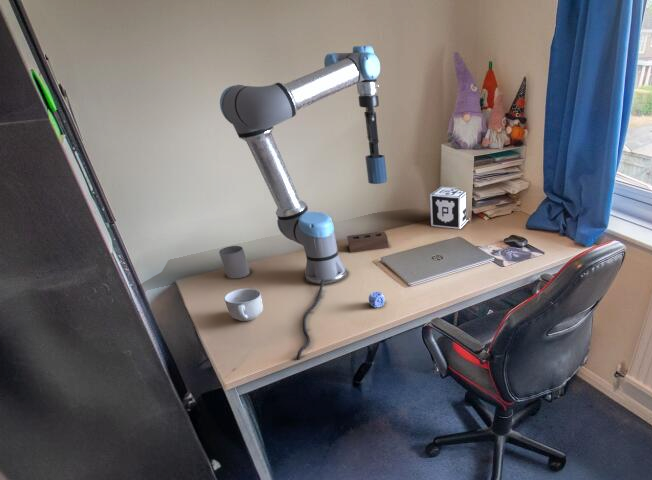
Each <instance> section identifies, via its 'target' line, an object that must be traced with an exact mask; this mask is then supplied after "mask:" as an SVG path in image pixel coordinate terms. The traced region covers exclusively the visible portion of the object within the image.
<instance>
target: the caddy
mask: <svg viewBox="0 0 652 480" xmlns="http://www.w3.org/2000/svg"><path fill="white" fill-rule="evenodd" d="M346 238H347V239H346V240H347V244H348V245H347V246H348V249H349V252H350V253H357V252H365V251H371V250H379V249H386V248H389V241H388V240H389V239H388V235H387V233H386V232H385V230H384V231H376V232H375V231H374V232H367V233H359V234H352V235H351V234H350V235H346Z"/></svg>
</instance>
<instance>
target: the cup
mask: <svg viewBox="0 0 652 480" xmlns="http://www.w3.org/2000/svg"><path fill="white" fill-rule="evenodd" d="M218 254H219V256H220V260H221V262H222V265H223V268H224V272H225V274H226V277H227V278H228V279H242V278H244V277H247V276H248V275H249V274H250V273H251V270H250V267H249V264H248V260H247V258H246V254H245V251H244V249H243V247H242V246H241V245H230V246H226V247H223V248H221V249H220V250H219V251H218Z"/></svg>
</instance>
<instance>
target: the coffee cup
mask: <svg viewBox="0 0 652 480" xmlns="http://www.w3.org/2000/svg"><path fill="white" fill-rule="evenodd" d="M364 161H365V167H366V176H367V182H368V184H372V185H381V184H385V183H387V181H388V178H387V168H386V167H387V166H386V157H385V155H384V154H379V158H371V157H370V154H368V155H366V156H364Z"/></svg>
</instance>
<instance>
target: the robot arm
mask: <svg viewBox="0 0 652 480" xmlns="http://www.w3.org/2000/svg"><path fill="white" fill-rule="evenodd" d="M323 65H324V67H323V68H320V69H318V70H315V71H313V72H310V73H308V74H305V75H303V76H301V77H298V78H296V79H293V80H291V81H288V82H286V83H282V82H275V83H273V84H270V85H264V86H263V85H262V86H255V85H253V86H251V85H243V84H235V85H234V84H233V85H230V86H228V87H226V88H225V89H224V90H223V91H222V93H221V95H220V98H219V108H220V111H221V113H222V116H223V117H224V118H225V120H227V121H228V123H230V124H232V126H233V128H234V131H235V132H236V135H237V136H238V138H239V139H241V140H242V141H244V142H246V144H247V146H248V149H249V150H250V153H251V155H252V157H253V159H254V161H255V163H256V165H257V168H258V169H259V172H260V174H261V175H262V176H261V177H262V178H263V180H264V183H265V184H266V187H267V188H268V190H269V192H270V195H271V197H272V199H273V201H274V203H275V205H276V211H275V215H276V217H277V220H276V221H277V227H278V230H279V232H280V234H282V235H283V236H284V237H285V238H287V239H288V240H290V241H292V242H295V243H297V244H298V245H301V246H303V248H304V249H303V250H304V253H305V258H306V262H305V263H306V264H305V271H304V276H305V280H306V282H308V283H309V284H313V285H319V290H318V294H317V296H316V299H315V300H314V302H313V304H312V305H311V307H309V308H308V309H307V311H306V312H305V313H304V315H303V317H302V331H303V334H304V336H305V338H306V342H305V344H304V345H302V346H301V347H300V348H299V349H298V351H297V354H296V360H297V361H300V360H301V356H302V353H303V352H304V350H306V349H307V348H308V347H309V345H310V344H311V338H310V335H309V333H308V331H307V319H308V316H309V314H310V313H311V312H312V311H313V310H314V309H315V308H316V306H317V305H318V303H319V300H320V299H321V296H322V292H323V287H324V285H331V284H334V283H337V282H339V281H341V280H343V279H344V278H345V277H347V269H346V267H345V265H344V262H343V261H342V259H341V257H340V256H339V252H338V245H337V240H336V234H335V233H336V232H335V226H334V223H333V219H332V218H331V216H330V215H328V214H327V213H325V212H321V211H320V212H319V211H318V212H317V211H310V209H309V208H308V205H307V203H306V202H305V201H303V200H302V199H300V197H299V194H298V192H297V190H296V187H295V185H294V182H293V181H292V178H291V175H290V173H289V171H288V169H287V166H286V164H285V161H284V160H283V157H282V155H281V152H280V150H279V148H278V145H277V143H276V140H275V138H274V136H273V134H272V133H273V130H274V127H275V126H277V125H280V124H282V123H283V122H285V121H287V120H290V119H292V118H294V117H295V116H297V111H299V110H301V109H302V110H303V109H304V108H306V107H309V106H310V105H313V104H314V103H317V102H319V101H321V100H323V99H325V98H328V97H330V96H332V95H335V94H337V93H339V92H341V91H343V90H345V89H347V88H349V87H352V86H354V85H355V84H356V90H357V94H358V95H359V96H358V97H357V98H358V103H359V104H358V106H359V107H360V108H365V111H364V119H365V126H366V135H367V136H366V138H367V139H368V147H369V155H370V157H371V158H379V155H380V152H379V142H380V140H379V134H378V125H377V123H378V122H377V112H376V111H375V108H377V107H379V106H380V102H379V101H380V99H379V95H378V93H379V92H378V88H379V87H380V85H379V84H377V83H378V82H377V81H378V80H377V78H378V77H379V75H380V73H381V63H380V60H379V58H378V56H377V55H376V54H375V52H374V48H373V47H372V46H371V45H354V46H353V47H352V52H331V53H327V54H326V55H325V56H324V60H323Z"/></svg>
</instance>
